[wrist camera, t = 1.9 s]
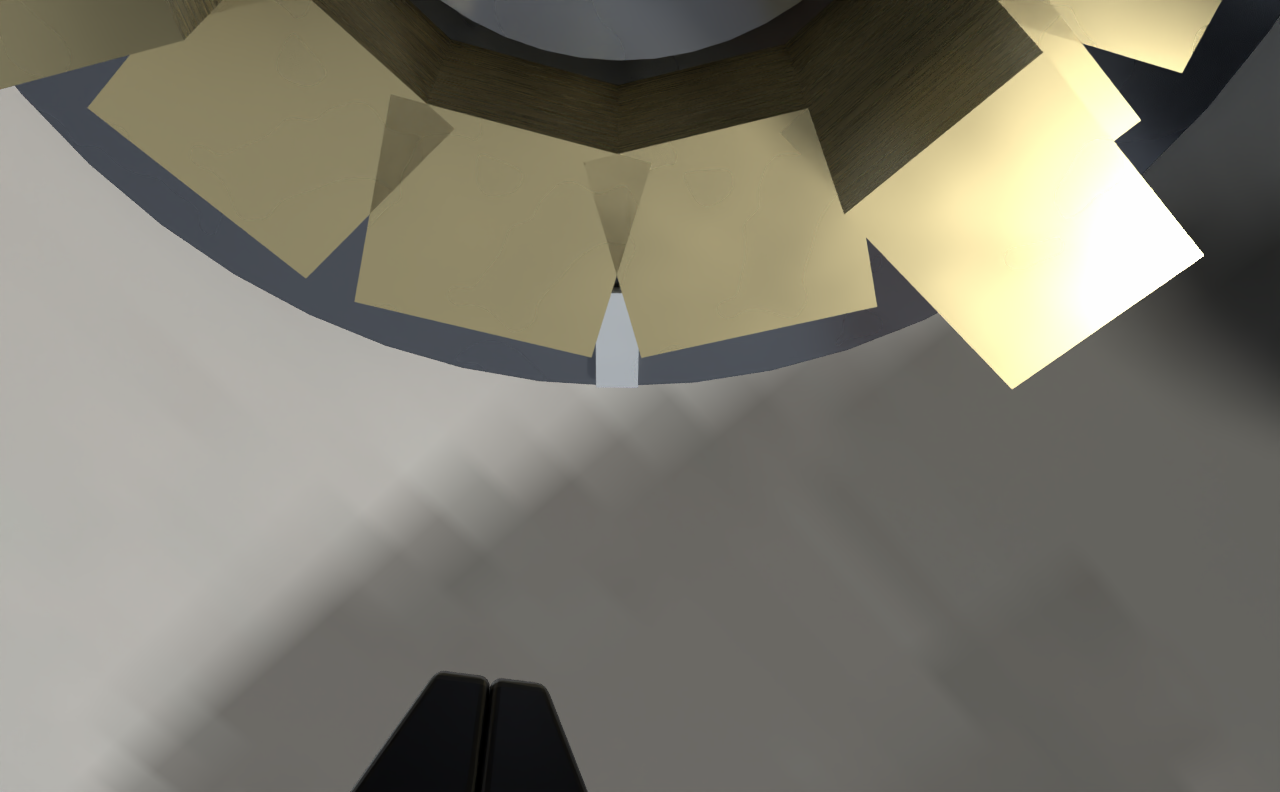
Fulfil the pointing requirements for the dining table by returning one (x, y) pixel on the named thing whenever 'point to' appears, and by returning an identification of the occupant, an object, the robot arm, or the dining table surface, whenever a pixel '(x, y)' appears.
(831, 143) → the tan segmented ring
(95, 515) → the dining table surface
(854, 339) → the grey round tray
